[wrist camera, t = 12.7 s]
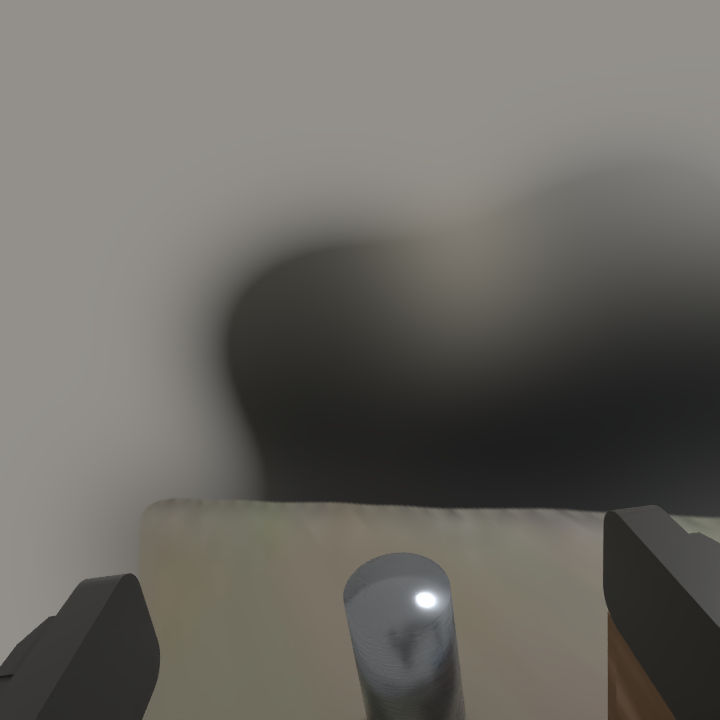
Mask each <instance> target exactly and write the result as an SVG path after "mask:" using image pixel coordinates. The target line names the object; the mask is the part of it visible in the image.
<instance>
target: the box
mask: <svg viewBox="0 0 720 720" xmlns="http://www.w3.org/2000/svg"><path fill="white" fill-rule="evenodd" d="M608 720H676V719H675V717H674V716H673V714H672V712H671V711H670V709H669V708H668V706H667V705H666V703H665V702H664V700H663V699H662V697H661V696H660V694H659V692H658V691H657V689H656V688H655V686H654V685H653V683H652V682H651V680H650V679H649V677H648V675H647V674H646V672H645V671H644V669H643V668H642V666H641V665H640V663H639V662H638V660H637V659H636V657H635V655H634V654H633V652H632V651H631V649H630V648H629V646H628V645H627V643H626V642H625V640H624V639H623V637H622V635H621V634H620V632H619V631H618V629H617V628H616V626H615V624H614V622H613V620H612V618H611V616H610V613H609V611H608Z"/></svg>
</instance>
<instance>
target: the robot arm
mask: <svg viewBox="0 0 720 720" xmlns="http://www.w3.org/2000/svg"><path fill="white" fill-rule="evenodd" d="M603 589H604V596H605V600H606V604H607V607H608V610H609V613H610V616H611V618H612V620H613V622H614V624H615V626H616V628H617V629H618V631H619V632H620V634H621V635H622V637H623V639H624V640H625V642H626V643H627V645H628V646H629V648H630V649H631V651H632V652H633V654H634V655H635V657H636V659H637V660H638V662H639V663H640V665H641V666H642V668H643V669H644V671H645V672H646V674H647V675H648V677H649V679H650V680H651V682H652V683H653V685H654V686H655V688H656V689H657V691H658V692H659V694H660V696H661V697H662V699H663V700H664V702H665V703H666V705H667V706H668V708H669V709H670V711H671V712H672V714H673V716H674V717H675V719H676V720H720V543H718V542H716V541H715V540H713V539H711V538H709V537H707V536H705V535H703V534H701V533H691V534H688V533H687V532H686V531H685V530H684V529H683V528H682V527H681V526H680V525H679V524H678V523H677V522H675V521H674V520H673V519H672V518H671V517H670V516H669V515H668V514H667V513H666V512H665V511H664V510H663V509H661V508H660V507H658V506H655V505H651V506H643V507H636V508H628V509H621V510H613V511H608V512H607V513H606V515H605V517H604V541H603ZM159 667H160V649H159V643H158V640H157V637H156V633H155V630H154V627H153V624H152V621H151V618H150V615H149V611H148V608H147V605H146V602H145V599H144V596H143V593H142V589H141V586H140V583H139V581H138V579H137V578H136V576H135V575H133V574H121V575H114V576H106V577H99V578H91V579H85V580H83V581H82V582H81V583H80V584H79V585H78V586H77V587H76V588H75V590H74V591H73V593H72V594H71V595H70V597H69V598H68V600H67V601H66V602H65V604H64V605H63V607H62V608H61V609H60V611H59V612H58V614H57V615H56V616H51V617H48V619H46V620H45V621H44V622H43V623H42V624H40V625H39V626H38V627H37V628H36V629H35V630H33V631H32V632H31V633H30V634H29V635H28V636H26V637H25V638H24V639H23V640H22V641H21V642H20V643H18V644H17V645H16V647H15V648H14V649H13V651H12V652H11V653H10V655H9V656H8V657H7V659H6V660H5V661H4V662H3V664H2V665H1V666H0V720H142V718H143V716H144V713H145V711H146V708H147V706H148V703H149V701H150V698H151V696H152V693H153V691H154V688H155V685H156V682H157V678H158V674H159Z"/></svg>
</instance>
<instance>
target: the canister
mask: <svg viewBox="0 0 720 720" xmlns="http://www.w3.org/2000/svg"><path fill="white" fill-rule="evenodd" d="M343 598H344V606H345V611H346V616H347V621H348V626H349V631H350V636H351V641H352V646H353V651H354V656H355V661H356V666H357V671H358V676H359V681H360V686H361V691H362V696H363V701H364V706H365V711H366V716H367V720H466V714H465V706H464V697H463V689H462V680H461V672H460V664H459V655H458V647H457V638H456V630H455V621H454V613H453V604H452V596H451V588H450V582H449V579H448V576H447V575H446V573H445V571H444V570H443V569H442V568H441V567H440V566H439V565H438V564H437V563H435V562H434V561H432V560H430V559H428V558H426V557H424V556H421V555H417V554H412V553H392V554H386V555H383V556H379V557H376V558H374V559H372V560H370V561H368V562H366V563H365V564H363V565H362V566H360V567H359V568H358V569H357V570H356V571H355V572H354V573H353V574H352V575H351V577H350V578H349V580H348V581H347V584H346V586H345V589H344V596H343Z"/></svg>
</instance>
